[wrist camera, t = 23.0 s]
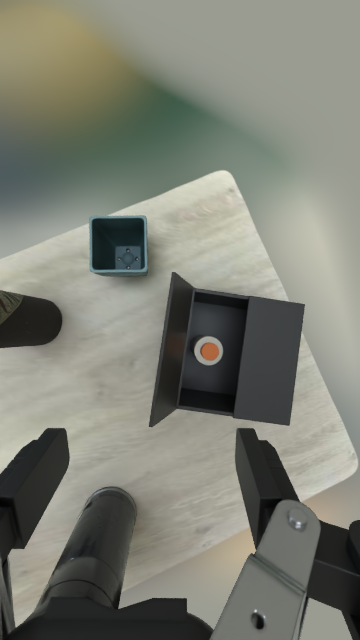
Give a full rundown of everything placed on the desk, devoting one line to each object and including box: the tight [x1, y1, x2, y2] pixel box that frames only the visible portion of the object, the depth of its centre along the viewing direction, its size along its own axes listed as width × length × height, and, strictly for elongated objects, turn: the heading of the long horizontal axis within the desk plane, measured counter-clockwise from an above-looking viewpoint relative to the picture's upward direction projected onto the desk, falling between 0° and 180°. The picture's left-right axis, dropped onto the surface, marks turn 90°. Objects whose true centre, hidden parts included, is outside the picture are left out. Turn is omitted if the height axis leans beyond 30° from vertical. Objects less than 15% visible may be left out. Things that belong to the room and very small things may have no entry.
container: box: [0, 290, 62, 348], centre depth 37 cm, size 9×9×20 cm
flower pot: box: [89, 215, 148, 276], centre depth 44 cm, size 9×9×9 cm
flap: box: [149, 272, 194, 427], centre depth 32 cm, size 17×8×1 cm
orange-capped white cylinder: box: [190, 335, 223, 365], centre depth 43 cm, size 4×4×10 cm
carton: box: [176, 288, 305, 426], centre depth 42 cm, size 17×16×13 cm
